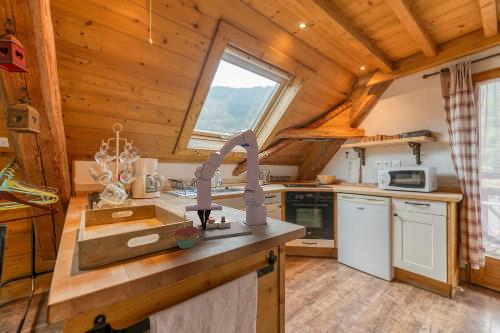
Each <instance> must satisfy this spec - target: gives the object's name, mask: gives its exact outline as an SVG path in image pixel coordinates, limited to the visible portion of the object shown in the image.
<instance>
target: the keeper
mask: <svg viewBox="0 0 500 333" xmlns="http://www.w3.org/2000/svg"><path fill="white" fill-rule="evenodd" d="M215 221H216V219H215V218H214V217H213V216H212V215H210V216H209V218H208V221H207V222H210V223H213V222H215Z"/></svg>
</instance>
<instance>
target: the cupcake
mask: <svg viewBox="0 0 500 333" xmlns="http://www.w3.org/2000/svg"><path fill="white" fill-rule="evenodd" d="M183 225H184V227H182V228H180V229H178V230H177V231H176V233H175V234H174V235H175V238H174V239H177V240H178V242H177V244H178V243H179V245H178V247H179V248H180V249H189V248H192V247H193V246H194V244H195V241H196V238H198V236H199V233H198V230H197V228H196V227H195V226H193V225H190V226H186V225H187V217H186V213H185V212H184V213H183ZM177 240H176V241H177Z"/></svg>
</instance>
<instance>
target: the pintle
mask: <svg viewBox="0 0 500 333" xmlns="http://www.w3.org/2000/svg"><path fill="white" fill-rule="evenodd" d="M220 220H221V222H225V220H226V216H225V215H224V216H223V215H222V216H221V219H220Z"/></svg>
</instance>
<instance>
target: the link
mask: <svg viewBox="0 0 500 333" xmlns="http://www.w3.org/2000/svg"><path fill="white" fill-rule="evenodd" d="M231 222H232V221H230V220H228V219H226V218H225V222H221V219H216V220H215V222H213V223H210V222H208V221H207V224H206V229H210V228H225V227H231ZM196 226H197V228H198V230H202V224H201V222H197V223H196Z"/></svg>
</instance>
